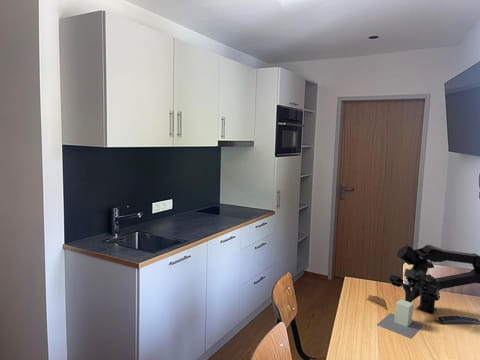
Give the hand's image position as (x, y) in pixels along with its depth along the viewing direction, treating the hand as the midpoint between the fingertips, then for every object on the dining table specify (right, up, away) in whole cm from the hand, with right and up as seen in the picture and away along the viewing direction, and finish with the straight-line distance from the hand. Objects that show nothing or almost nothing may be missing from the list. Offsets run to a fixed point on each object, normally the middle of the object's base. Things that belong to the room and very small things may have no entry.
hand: (406, 304), depth 141 cm
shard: (-5, -5, +15) cm, 17 cm away
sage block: (-3, -6, -2) cm, 7 cm away
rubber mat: (-5, -7, -4) cm, 9 cm away
